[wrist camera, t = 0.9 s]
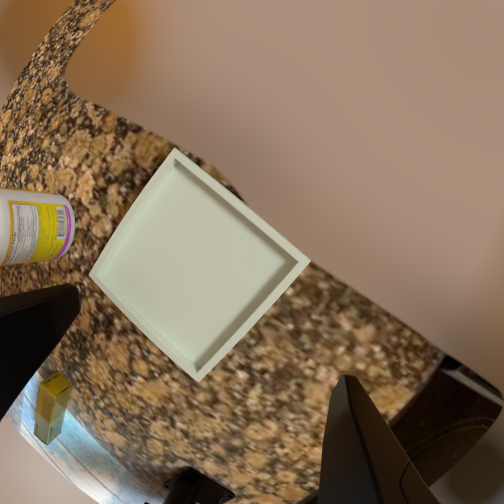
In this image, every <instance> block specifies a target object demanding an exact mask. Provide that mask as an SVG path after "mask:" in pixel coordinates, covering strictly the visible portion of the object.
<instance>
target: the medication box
mask: <svg viewBox="0 0 504 504" xmlns="http://www.w3.org/2000/svg"><path fill="white" fill-rule="evenodd" d="M71 387H72V383H71V382H70V381H69V380H68V379H67V378H66V377H65V376H64V375H62V374H61V373H60V372H59V371H57V372H56V373H54V374H53V375H51V376H50V377H48V378H46V379H45V380H43V381H42V382H40V386H39V392H38V399H37V408H36V417H35V428H34V434H35V435H36V436H37V437H38V438H39V439H40V440H41V441H42V442H43V443H44V444H46V445H48V444H49V443H50V442H51V441H52V440H53V439H54V438H55V437H57V436H58V435H59V434H60V433H61V428H62V424H63V419H64V415H65V411H66V407H67V403H68V399H69V395H70V391H71Z"/></svg>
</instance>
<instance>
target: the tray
mask: <svg viewBox="0 0 504 504" xmlns="http://www.w3.org/2000/svg"><path fill="white" fill-rule="evenodd" d="M310 261H311V260H310V259H309V258H308V257H307V256H306V255H305V254H303V253H302V252H301V251H300V250H299V249H298V248H297V247H295V246H294V245H293V244H292V243H290V242H289V241H288V240H287V239H286V238H285V237H284V236H282V235H281V234H280V233H279V232H278V231H277V230H275V229H274V228H273V227H272V226H271V225H269V224H268V223H267V222H266V221H265V220H263V219H262V218H261V217H260V216H259V215H258V214H256V213H255V212H254V211H253V210H252V209H250V208H249V207H248V206H247V205H246V204H244V203H243V202H242V201H241V200H240V199H238V198H237V197H236V196H235V195H234V194H232V193H231V192H230V191H229V190H227V189H226V188H225V187H224V186H223V185H221V184H220V183H219V182H218V181H216V180H215V179H214V178H213V177H211V176H210V175H209V174H208V173H207V172H205V171H204V170H203V169H202V168H200V167H199V166H198V165H197V164H195V163H194V162H193V161H192V160H190V159H189V158H188V157H187V156H185V155H184V154H183V153H181V152H180V151H178V150H177V149H175V148H174V149H173V150H172V152H171V153H170V154H169V155H168V157H167V158H166V159H165V161H164V162H163V163H162V165H161V166H160V167H159V168H158V170H157V171H156V172H155V174H154V175H153V176H152V178H151V179H150V181H149V182H148V183H147V185H146V186H145V187H144V189H143V190H142V192H141V193H140V194H139V196H138V197H137V199H136V200H135V202H134V203H133V205H132V206H131V207H130V209H129V210H128V212H127V213H126V215H125V216H124V218H123V219H122V221H121V222H120V224H119V226H118V227H117V229H116V230H115V232H114V233H113V235H112V237H111V238H110V240H109V241H108V243H107V245H106V246H105V248H104V250H103V251H102V253H101V254H100V256H99V258H98V260H97V261H96V263H95V265H94V266H93V268H92V270H91V272H90V273H89V276H90V277H91V278H92V280H93V281H94V282H95V283H96V284H97V285H98V286H99V288H100V289H101V290H102V291H103V292H104V293H105V294H106V295H107V296H108V297H109V299H110V300H111V301H112V302H113V303H114V304H115V305H116V306H117V307H118V308H119V309H120V310H121V311H122V312H123V313H124V314H125V315H126V316H127V317H128V318H129V320H130V321H131V322H132V323H133V324H134V325H135V326H136V327H137V328H138V329H140V330H141V331H142V332H143V333H144V334H145V335H146V336H147V337H148V338H149V339H150V340H151V341H152V342H153V343H154V344H155V345H156V346H157V347H158V348H159V349H161V350H162V351H163V352H164V353H165V354H166V355H167V356H168V357H169V358H170V359H172V360H173V361H174V362H175V363H176V364H177V365H178V366H180V367H181V368H182V369H183V370H184V371H185V372H186V373H188V374H189V375H190V376H191V377H192V378H194V379H195V380H196V381H197V382H199V381H200V380H201V379H202V378H203V377H204V376H205V375H206V374H207V373H208V372H209V371H210V370H211V369H212V368H213V367H214V366H215V365H216V364H217V363H218V362H219V361H220V360H221V359H222V358H223V357H224V356H225V355H226V354H227V353H228V352H229V351H230V350H231V349H232V347H233V346H234V345H235V344H236V343H237V342H238V341H239V340H240V339H241V338H242V337H243V336H244V335H245V334H246V333H247V332H248V331H249V329H250V328H251V327H252V326H253V325H254V324H255V323H256V322H257V321H258V320H259V319H260V318H261V316H262V315H263V314H264V313H265V312H266V311H267V310H268V309H269V308H270V307H271V306H272V304H273V303H274V302H275V301H276V300H277V299H278V298H279V297H280V296H281V294H282V293H283V292H284V291H285V290H286V289H287V288H288V287H289V285H290V284H291V283H292V282H293V281H294V280H295V279H296V277H297V276H298V275H299V274H300V273H301V272H302V271H303V269H304V268H305V267H306V266H307V265H308V264H309V263H310Z"/></svg>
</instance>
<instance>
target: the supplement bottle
mask: <svg viewBox="0 0 504 504" xmlns="http://www.w3.org/2000/svg"><path fill="white" fill-rule="evenodd" d="M74 233H75V217H74V212H73V209H72V207H71V205H70V203H69V202H68V200H67V199H66V198H65V197H63V196H62V195H59V194H54V193H47V192H38V191H29V190H19V189H10V188H1V187H0V267H3V266H10V265H16V264H23V263H30V262H37V261H44V260H51V259H57V258H59V257H61V256H63V255H64V254H65V253H66V252H67V251H68V249H69V248H70V246H71V244H72V241H73V238H74Z"/></svg>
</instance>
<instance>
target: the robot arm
mask: <svg viewBox="0 0 504 504" xmlns="http://www.w3.org/2000/svg"><path fill="white" fill-rule="evenodd" d="M80 309H81V304H80V296H79V290H78V288H77V287H76V286H74V285H72V284H69V283H67V284H62V285H57V286H52V287H48V288H43V289H38V290H33V291H28V292H24V293H19V294H14V295H9V296H5V297H0V422H1V419H2V418H3V417H4V415H5V414H6V412H7V411H8V409H9V408H10V407H11V405H12V404H13V402H14V401H15V399H16V398H17V397H18V395H19V394H20V392H21V391H22V390H23V388H24V387H25V386H26V384H27V383H28V382H29V380H30V379H31V378H32V376H33V375H34V374H35V372H36V371H37V370H38V368H39V367H40V366H41V365H42V363H43V362H44V361H45V359H46V358H47V357H48V356H49V354H50V353H51V352H52V351H53V349H54V348H55V347H56V346H57V344H58V343H59V342H60V340H61V339H62V337H63V336H64V334H65V333H66V331H67V330H68V328H69V327H70V325H71V324H72V322H73V321H74V320H75V318H76V317H77V315H78V314H79V312H80ZM163 487H164V488H166V489H167V490H169V491H170V492H169V494H168V496H167V497H166V499H165V501H164V503H163V504H223V503H225V502H227V501H229V500H231V499H233V498H234V497H235V494H234V493H233V492H231V491H229V490H228V489H226V488H224V487H222V486H221V485H219V484H217V483H216V482H214V481H212V480H211V479H209V478H208V477H206V476H204V475H203V474H201V473H200V472H198V471H197V470H195V469H194V468H191V467H189V468H187V469H185V470H184V471H182V472H181V473H179V474H177V475H176V476H174V477H173V478H171V479H169V480H168V481H166V482H164V484H163ZM144 504H149V503H147V502H145V503H144ZM317 504H441V503H440V502H439V500H438V499H437V498H436V497H435V496H434V494H433V493H432V492H431V490H430V489H429V488H428V486H427V485H426V484H425V482H424V481H423V479H422V478H421V476H420V475H419V473H418V472H417V470H416V469H415V467H414V465H413V464H412V462H411V461H409V458H408V456H407V454H406V453H405V451H404V450H403V448H402V447H401V445H400V443H399V442H398V440H397V439H396V437H395V436H394V434H393V432H392V431H391V429H390V428H389V426H388V425H387V423H386V421H385V420H384V418H383V417H382V415H381V414H380V412H379V411H378V409H377V408H376V406H375V404H374V403H373V401H372V400H371V398H370V397H369V395H368V394H367V392H366V391H365V389H364V388H363V386H362V384H361V383H360V381H359V380H358V378H357V377H356V376H352V375H347V374H344V375H342V376H341V378H340V379H339V381H338V383H337V385H336V386H335V388H334V390H333V392H332V394H331V398H330V404H329V410H328V416H327V422H326V427H325V432H324V438H323V447H322V460H321V472H320V483H319V493H318V502H317Z"/></svg>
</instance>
